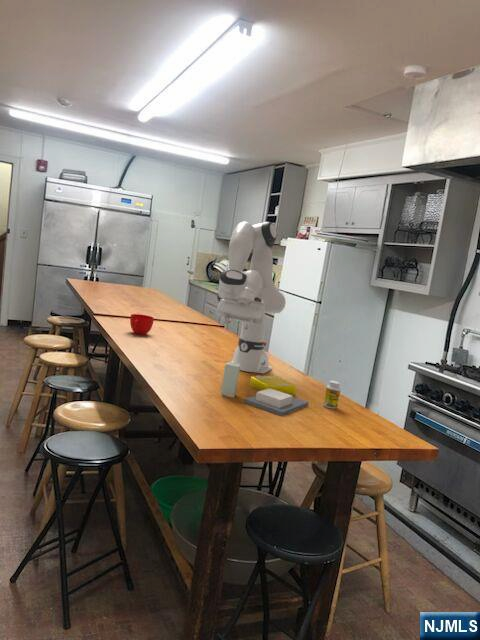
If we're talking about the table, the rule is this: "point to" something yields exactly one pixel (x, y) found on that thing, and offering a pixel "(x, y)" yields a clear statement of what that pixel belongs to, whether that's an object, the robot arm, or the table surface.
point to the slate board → (277, 410)
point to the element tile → (272, 384)
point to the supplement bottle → (332, 395)
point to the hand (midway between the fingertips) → (235, 326)
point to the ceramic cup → (141, 323)
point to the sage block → (230, 379)
